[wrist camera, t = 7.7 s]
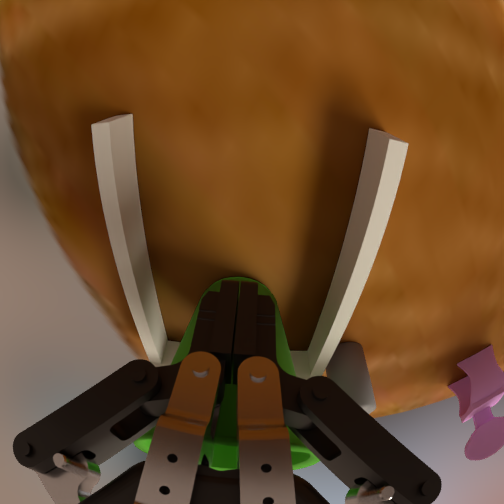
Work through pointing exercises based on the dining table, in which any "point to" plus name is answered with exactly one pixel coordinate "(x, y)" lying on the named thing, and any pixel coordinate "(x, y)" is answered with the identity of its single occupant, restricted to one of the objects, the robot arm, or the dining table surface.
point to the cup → (227, 421)
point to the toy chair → (481, 403)
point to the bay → (343, 283)
